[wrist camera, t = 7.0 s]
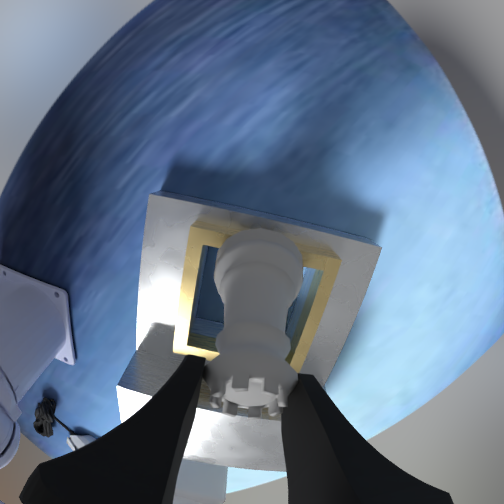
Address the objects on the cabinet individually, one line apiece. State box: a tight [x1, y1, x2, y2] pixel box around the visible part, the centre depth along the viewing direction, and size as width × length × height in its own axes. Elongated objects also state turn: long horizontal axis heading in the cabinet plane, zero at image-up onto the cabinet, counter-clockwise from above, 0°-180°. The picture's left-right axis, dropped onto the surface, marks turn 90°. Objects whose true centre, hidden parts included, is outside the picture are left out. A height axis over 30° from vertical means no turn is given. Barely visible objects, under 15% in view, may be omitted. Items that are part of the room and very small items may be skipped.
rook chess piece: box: [203, 228, 303, 420], centre depth 12 cm, size 4×4×8 cm
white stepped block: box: [117, 191, 382, 472], centre depth 17 cm, size 14×18×6 cm
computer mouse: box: [33, 397, 96, 451], centre depth 25 cm, size 10×18×4 cm, turn 45°
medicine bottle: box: [173, 459, 228, 504], centre depth 20 cm, size 7×7×12 cm
